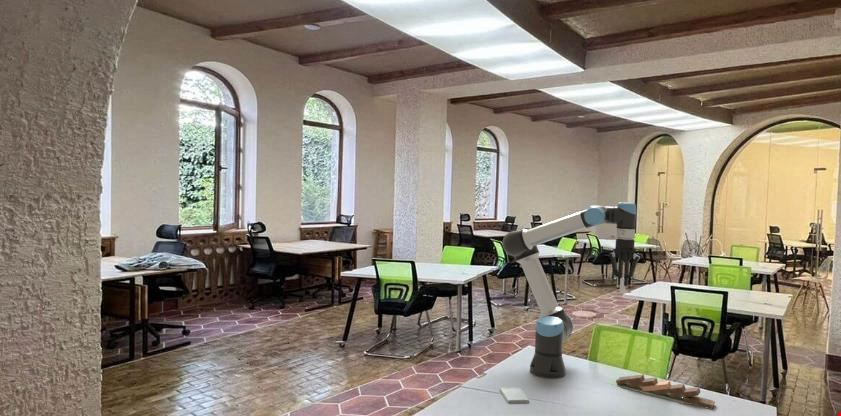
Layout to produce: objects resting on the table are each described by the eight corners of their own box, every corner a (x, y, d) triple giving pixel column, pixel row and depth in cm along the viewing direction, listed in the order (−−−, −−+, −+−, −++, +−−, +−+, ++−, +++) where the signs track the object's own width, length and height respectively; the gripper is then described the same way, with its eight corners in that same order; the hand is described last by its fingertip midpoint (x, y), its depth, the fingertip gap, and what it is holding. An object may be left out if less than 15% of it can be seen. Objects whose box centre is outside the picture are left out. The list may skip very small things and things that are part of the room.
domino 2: (628, 383, 216) (653, 380, 210) (632, 380, 220) (656, 377, 214) (629, 388, 216) (654, 385, 210) (633, 384, 220) (657, 381, 214)
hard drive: (529, 400, 198) (519, 387, 211) (508, 400, 198) (499, 387, 210) (529, 404, 198) (519, 391, 211) (507, 404, 198) (499, 391, 210)
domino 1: (615, 380, 219) (639, 377, 213) (619, 377, 223) (643, 374, 217) (617, 384, 219) (641, 382, 213) (621, 381, 223) (644, 378, 217)
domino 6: (683, 397, 204) (712, 405, 198) (686, 393, 208) (714, 401, 201) (682, 401, 204) (712, 409, 198) (685, 397, 208) (714, 405, 202)
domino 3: (641, 386, 213) (666, 384, 207) (644, 383, 217) (669, 380, 211) (642, 391, 213) (668, 388, 207) (646, 387, 217) (671, 385, 211)
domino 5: (669, 393, 207) (696, 390, 201) (672, 389, 211) (698, 387, 205) (670, 398, 206) (698, 395, 201) (673, 394, 210) (700, 391, 204)
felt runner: (607, 383, 220) (607, 383, 220) (613, 378, 227) (613, 378, 227) (683, 403, 203) (683, 402, 203) (687, 397, 209) (688, 396, 209)
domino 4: (654, 390, 210) (681, 387, 204) (658, 386, 214) (683, 383, 208) (656, 394, 210) (682, 392, 204) (659, 391, 214) (685, 388, 208)
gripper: (607, 237, 228) (604, 292, 229) (638, 240, 220) (635, 296, 221) (612, 236, 234) (610, 289, 235) (643, 239, 226) (640, 294, 227)
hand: (622, 293), depth 228 cm, fingers closed
